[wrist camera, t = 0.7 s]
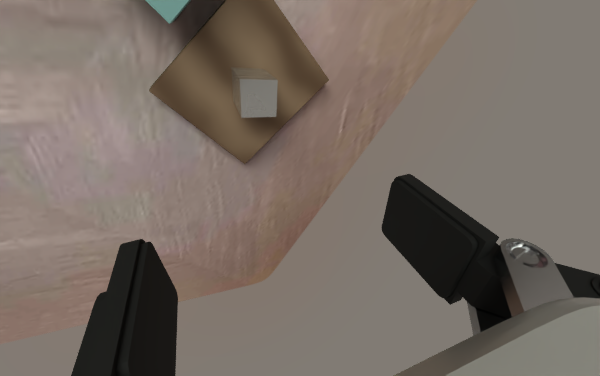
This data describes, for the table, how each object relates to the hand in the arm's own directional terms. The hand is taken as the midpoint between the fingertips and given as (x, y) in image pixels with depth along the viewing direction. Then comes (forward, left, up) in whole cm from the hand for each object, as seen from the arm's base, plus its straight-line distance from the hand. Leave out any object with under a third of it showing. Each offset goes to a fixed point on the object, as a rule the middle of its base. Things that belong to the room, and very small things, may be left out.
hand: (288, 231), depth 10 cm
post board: (-2, +1, -25) cm, 25 cm away
